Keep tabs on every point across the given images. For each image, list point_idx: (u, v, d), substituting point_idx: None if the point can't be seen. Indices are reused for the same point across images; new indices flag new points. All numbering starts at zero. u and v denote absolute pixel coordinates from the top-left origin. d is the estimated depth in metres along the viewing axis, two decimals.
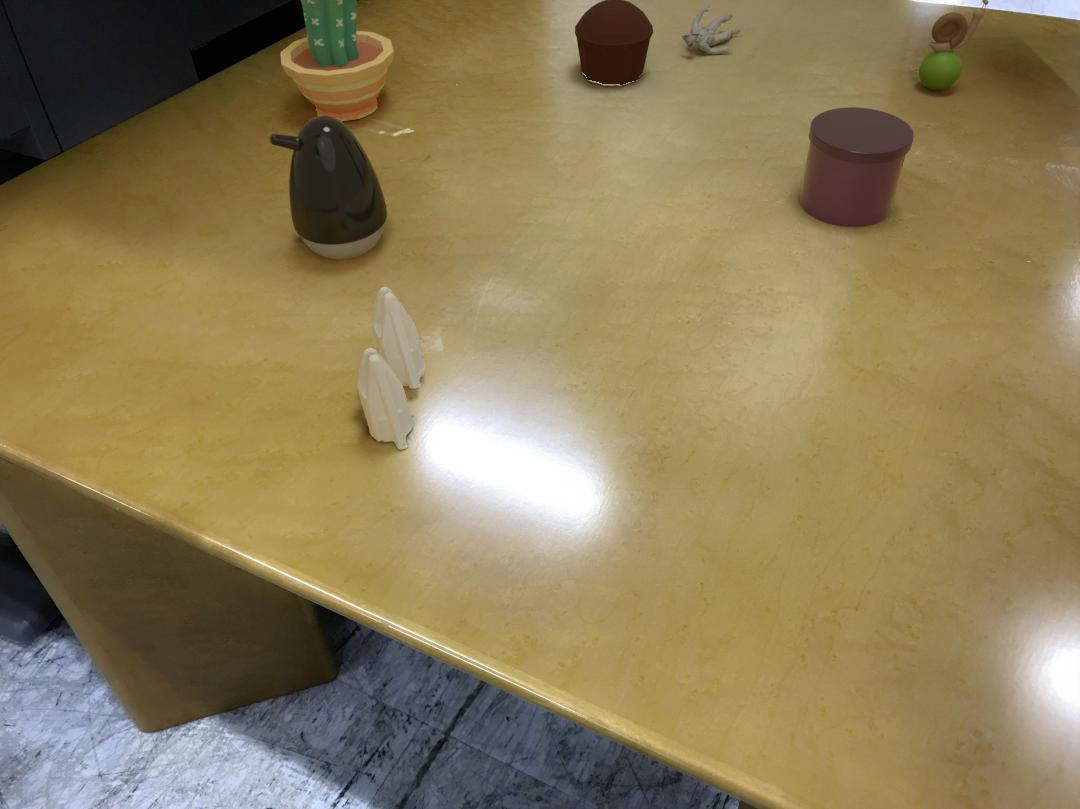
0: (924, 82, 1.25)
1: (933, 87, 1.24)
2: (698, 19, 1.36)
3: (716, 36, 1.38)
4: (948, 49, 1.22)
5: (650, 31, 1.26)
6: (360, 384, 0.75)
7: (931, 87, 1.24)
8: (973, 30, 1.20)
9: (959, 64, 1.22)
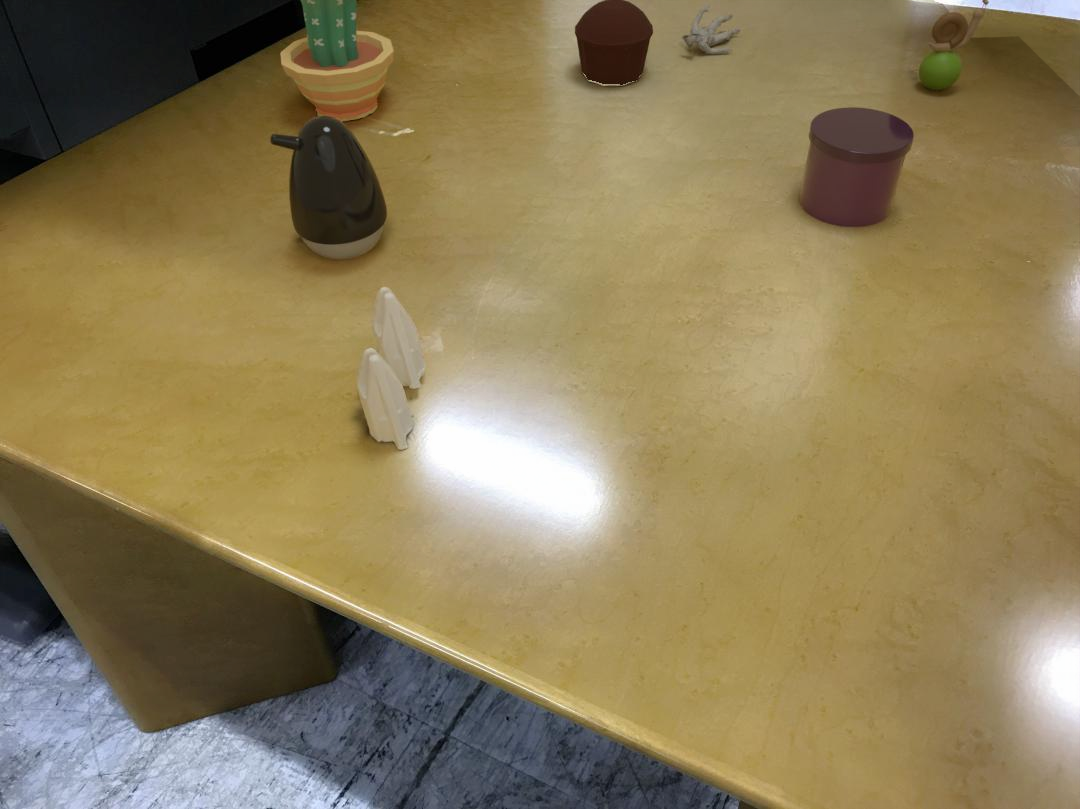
0: (924, 82, 1.25)
1: (933, 87, 1.24)
2: (698, 19, 1.36)
3: (716, 36, 1.38)
4: (948, 49, 1.22)
5: (650, 31, 1.26)
6: (360, 384, 0.75)
7: (931, 87, 1.24)
8: (973, 30, 1.20)
9: (959, 64, 1.22)
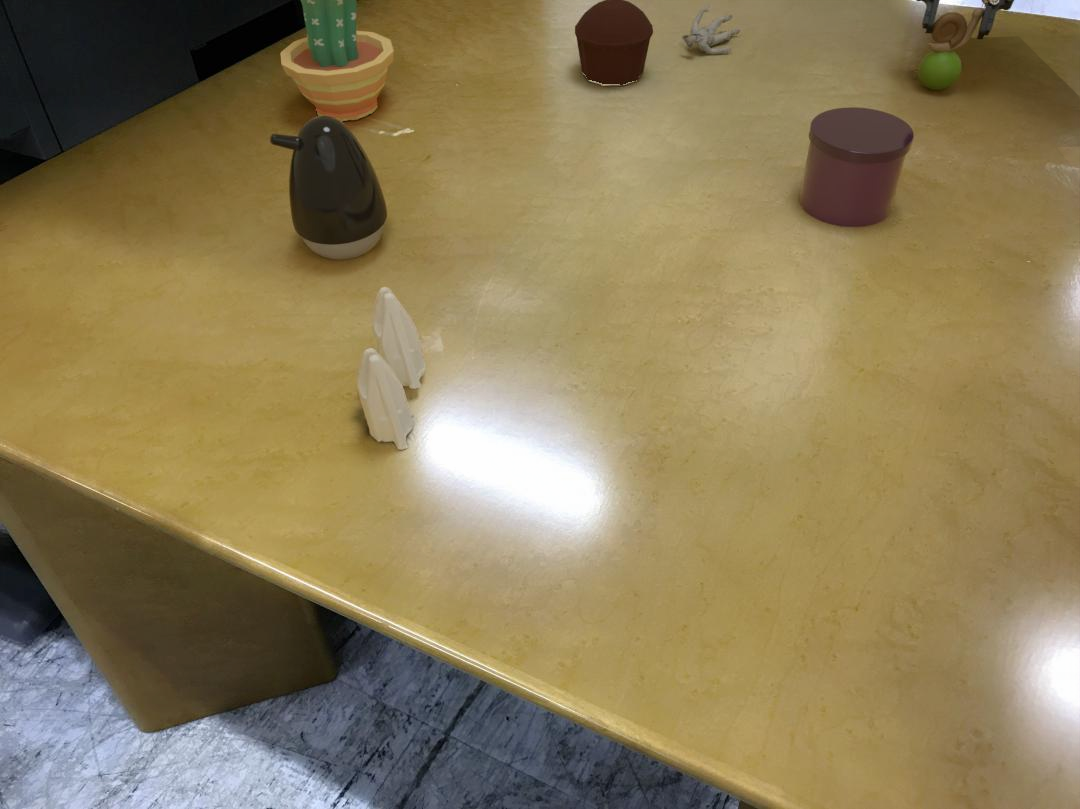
0: (924, 82, 1.25)
1: (933, 87, 1.24)
2: (698, 19, 1.36)
3: (716, 36, 1.38)
4: (948, 49, 1.22)
5: (650, 31, 1.26)
6: (360, 384, 0.75)
7: (931, 87, 1.24)
8: (973, 30, 1.20)
9: (959, 64, 1.22)
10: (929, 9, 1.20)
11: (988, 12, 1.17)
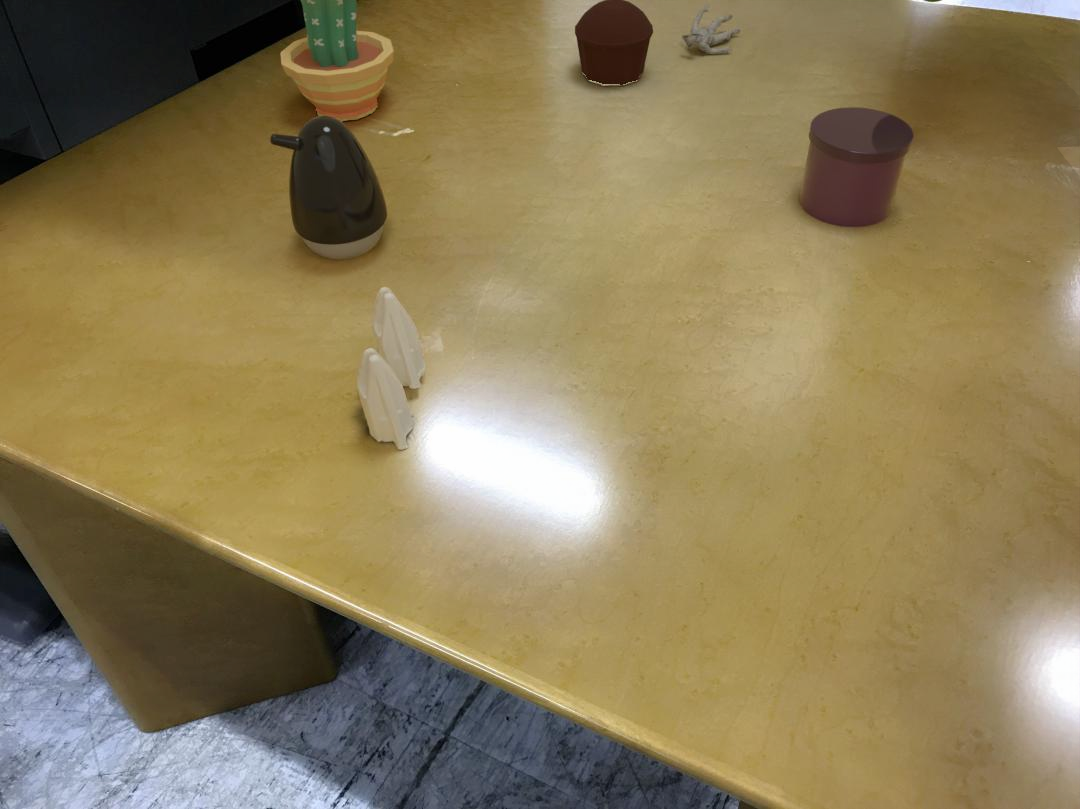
0: None
1: None
2: (698, 19, 1.36)
3: (716, 36, 1.38)
4: None
5: (650, 31, 1.26)
6: (360, 384, 0.75)
7: None
8: None
9: None
10: None
11: None
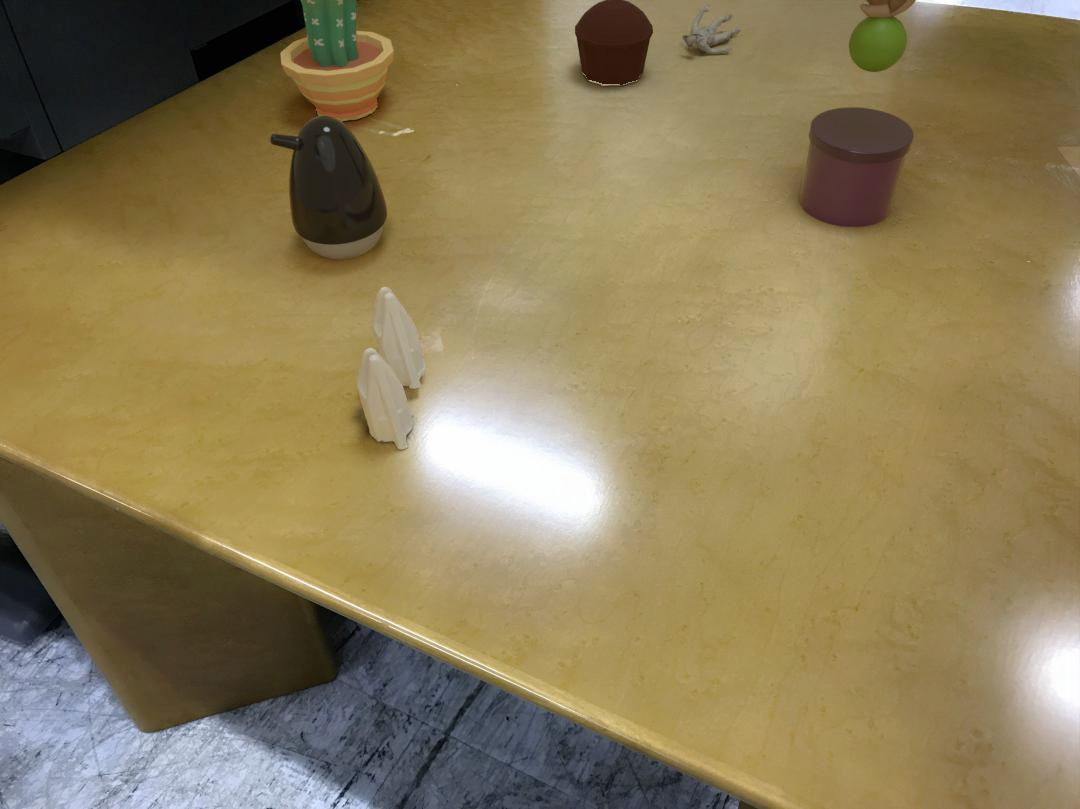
0: (856, 61, 0.90)
1: (868, 68, 0.90)
2: (698, 19, 1.36)
3: (716, 36, 1.38)
4: (887, 14, 0.87)
5: (650, 31, 1.26)
6: (360, 384, 0.75)
7: (865, 68, 0.90)
8: None
9: (903, 35, 0.87)
10: None
11: None
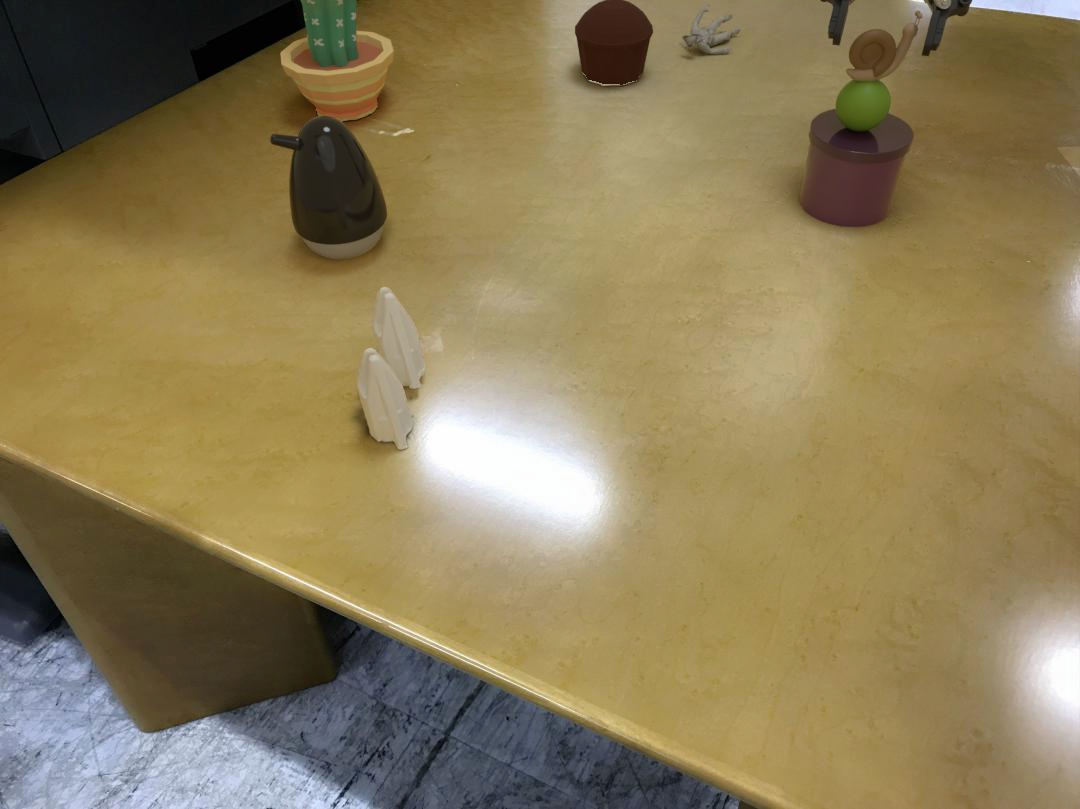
0: (842, 121, 0.94)
1: (854, 128, 0.94)
2: (698, 19, 1.36)
3: (716, 36, 1.38)
4: (871, 78, 0.91)
5: (650, 31, 1.26)
6: (360, 384, 0.75)
7: (851, 128, 0.94)
8: (904, 53, 0.89)
9: (887, 98, 0.91)
10: (836, 13, 0.89)
11: (936, 19, 0.86)
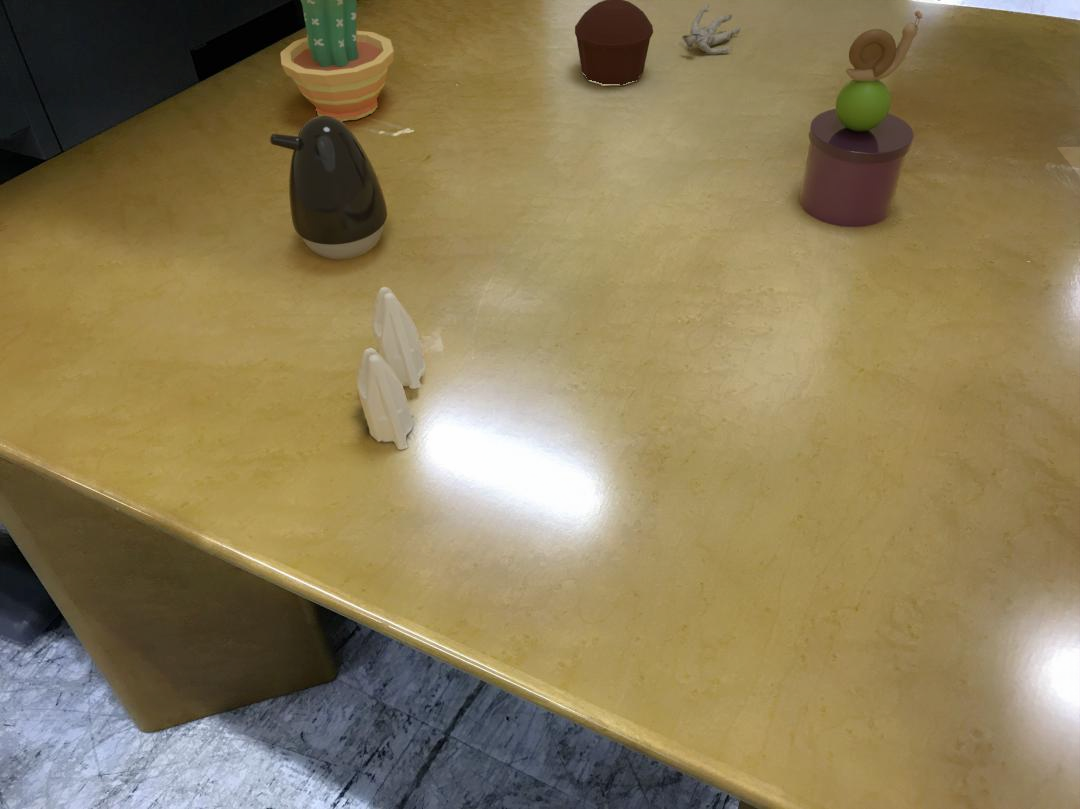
0: (842, 121, 0.94)
1: (854, 128, 0.94)
2: (698, 19, 1.36)
3: (716, 36, 1.38)
4: (871, 78, 0.91)
5: (650, 31, 1.26)
6: (360, 384, 0.75)
7: (851, 128, 0.94)
8: (904, 53, 0.89)
9: (887, 98, 0.91)
10: None
11: None
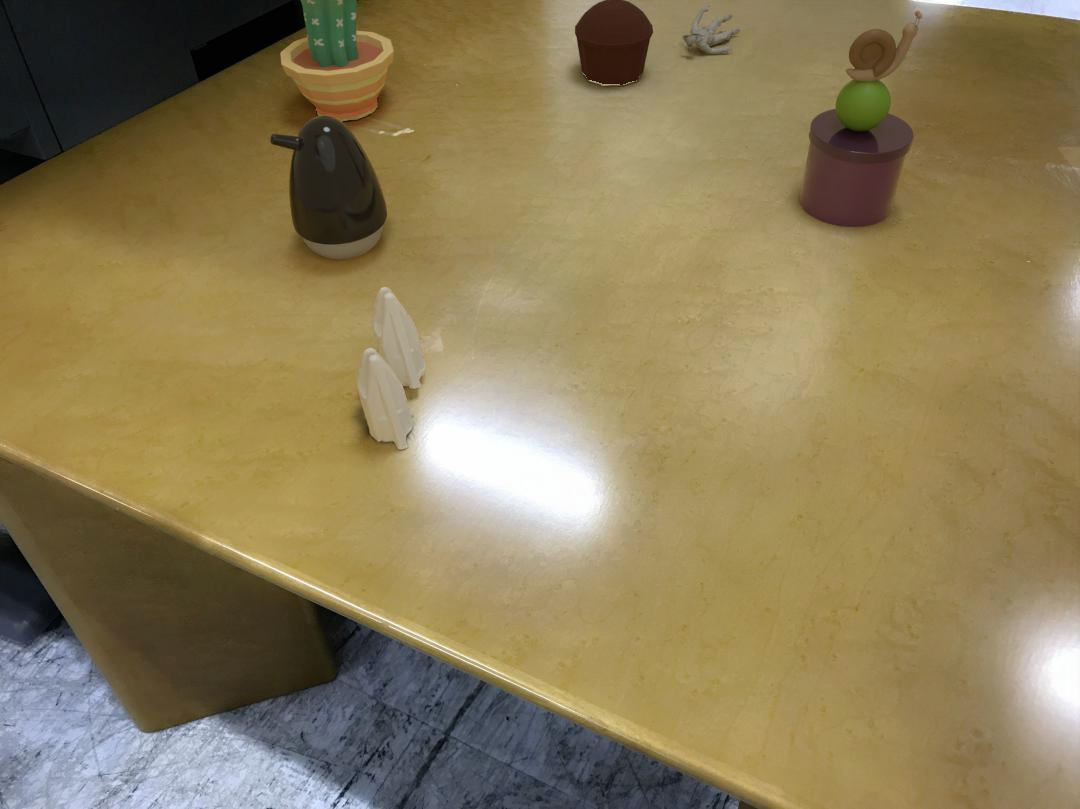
0: (842, 121, 0.94)
1: (854, 128, 0.94)
2: (698, 19, 1.36)
3: (716, 36, 1.38)
4: (871, 78, 0.91)
5: (650, 31, 1.26)
6: (360, 384, 0.75)
7: (851, 128, 0.94)
8: (904, 53, 0.89)
9: (887, 98, 0.91)
10: None
11: None
